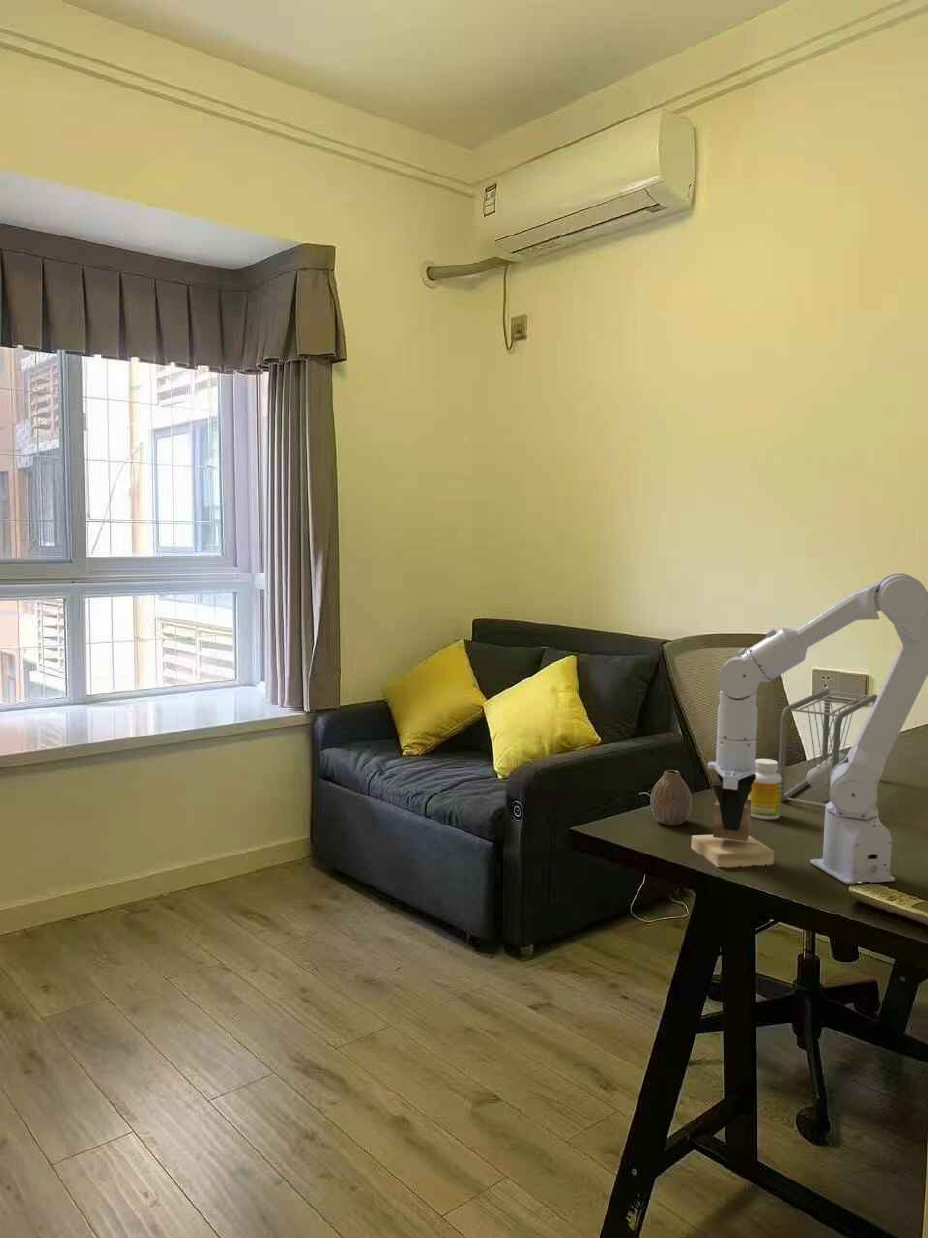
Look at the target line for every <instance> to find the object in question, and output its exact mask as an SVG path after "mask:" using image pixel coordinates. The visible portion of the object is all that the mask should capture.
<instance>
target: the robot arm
mask: <svg viewBox="0 0 928 1238" xmlns="http://www.w3.org/2000/svg"><path fill="white" fill-rule="evenodd" d="M880 611H881V612H882V614H883V615H884V616H886V618H887V619H888V620H889V621H890V622H891V623H892V624H893V627H894V629H895V631H896V633H897V635H898V636H897V637H898V638H899V640H900V643H901V647H900V649H899V651H898V653H897V655H896V657H895V659H894V661H893V664H892V666H891V667H890V670H889V672H888V674H887V675H886V678H885V680H884V682H883V684H882V686H881V688H880V691H879V692H878V694H877V698H876V700H875V703H874V705H873V707H872V706H871V709H870V711H869V713H868V715H867V717H866V719H865V722H864V724H863V726H862V727H861V730H860V732H859V733H858V736H857V738H856V740H855V741H854V743H853V744H852V746H851V747H850V749H849V750H848V753H847V755H846V758H845V759H844V760H843V761H842V762H840V763H839V764H837V765H836V766H835V767H834V768H833V770H832V772H831V774H830V782H829V785H830V788H829V802H827V803H825V804H826V805H825V806H824V807H825V811H824V827H823V829H824V830H823V844H822V845H823V846H822V848H823V849H822V858H813V859H810V860H809V863H810V864H811V865H813V866H815V867H816V868H818V869H820V870H822V871H823V872H824V873H827V874H828V875H830V876H832V877H833V878H835V879H837V880H838V881H840V882H842V883H843V884H845V885H855V883H858V882H870V883H872V884H873V883H886V882H887V883H888V882H895V881H896V878H895V876H892V875H891V863H892V862H891V861H892V843H893V841H892V836H891V835H892V834H891V832H890V831H889V829H888V828H887V827H886V826H884V825H883V824H882V822H881V821H880V818H879V808H878V807H876V804H877V802H878V801H877V800H878V784H879V781H880V779H881V777H882V775H883V772H884V768H885V765H886V761H887V758H888V757H889V754H890V753H891V750H892V748H893V746H894V744H895V743H896V740H897V738H898V736H899V734H900V732H901V730H902V728H903V726H904V724H905V723H906V720H907V718H908V716H909V714H910V712H911V710H912V708H913V706H914V704H915V702H916V700H917V697H918V696H919V694H920V692H921V690H922V688H923V686H924V684H925V682H926V679H927V677H928V590H927V589H926V587H925V585H924V584H923V583H922V582H921V581H920V580H918V579H917V578H915V577H913V576H911V575H910V574H906V573H903V572H902V573H898V572H897V573H892V574H889V575H886V576H885V577H884V578H882V579H881V580H880V581H879V583H878V582H874V583H871V584H869V585H865V586H864V587H862V588H860V589H858V590H855V591H853V592H852V593H850V594H849V595H847V596H846V597H844V598H842V599H841V600H839V601H838V602H837V603H835V604H833V605H832V606H830V607H829V608H827V609H826V610H824V611H823V612H821V613H820V614H818V615H817V616H815V617H813V618H811V620H809V621H807V622H806V623H804V624H803V625H801V626H800V627H798V628H797V629H791V628H788V627H781V628H779V629H778V630H776V629H775V628H771V629H770V630H768V631H767V632H766V634H765V635H766V637H765V638H763V639H762V640H760V641H759V642H757V643H756V644H753V645H752V646H751V647H749V648H746V647H743V648H741V649H740V650H739V651H738V653H739V655H740V656H734V657H732V658H730V659H729V660H727V661H726V662H725V663H724V664H723V665H722V667H721V668H720V669H719V672H718V676H717V681H718V686H719V688H720V693H719V695H718V700H719V705H718V709H717V731H716V734H717V735H716V753H715V754H716V755H715V756H716V758H715V761H708V763H707V768H708V770H715V771H716V772H717V776H718V777H717V778H718V780H719V781H718V780H713V782H712V789H713V792H714V794H715V796H716V799H717V798H718V801H719V805H720V810H721V817H722V823H723V827H724V829H725V830H733V831H738V829H739V826H740V823H741V818H742V813H743V808H744V805H745V802H746V800H748V798H749V794H750V792H751V790H752V787H751V786H752V784H753V782H754V781H755V779H756V774H755V773H756V766H755V760H756V756H757V755H756V753H757V752H756V751H757V728H758V707H757V690H758V687H759V685H760V683H770V682H771V681H772V680H774V679H776V678H777V677H779V676H781V675H783V674H784V673H786V672H788V671H789V670H791V669H792V668H794V667H795V666H798V665H800V664H802V662H804V661H805V660H806V657H807V651H808V648H810V647H812V646H813V645H816V644H817V643H819V642H820V641H822V640H824V639H826V638H827V637H829V636H831V635H833V634H835V633H836V632H839V631H840V630H842V629H843V628H845V627H846V626H847V627H848V625H851V624H852V623H854V622H856V621H860V620H861V621H863V620H865V621H867V620H880V617H879V614H878V612H880ZM830 799H831V801H830ZM870 883H869V884H870Z"/></svg>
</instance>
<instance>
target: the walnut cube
mask: <svg viewBox="0 0 928 1238" xmlns="http://www.w3.org/2000/svg"><path fill="white" fill-rule="evenodd" d="M751 819H752V816H751V800H748V799H747V800H746V802H745V805H744V808H743V813H742V818H741V823H740V826H739V829H738V831H733V830H725V829H724V827H723V823H722V817H721V810H720V805H719V801H718V798H717V797H716V800H715V802H714V805H713V829H712V830H713V832H712V834H713V837H716V838H724V839H732V840H740V841H748V837H749V836H750V834H751Z"/></svg>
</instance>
